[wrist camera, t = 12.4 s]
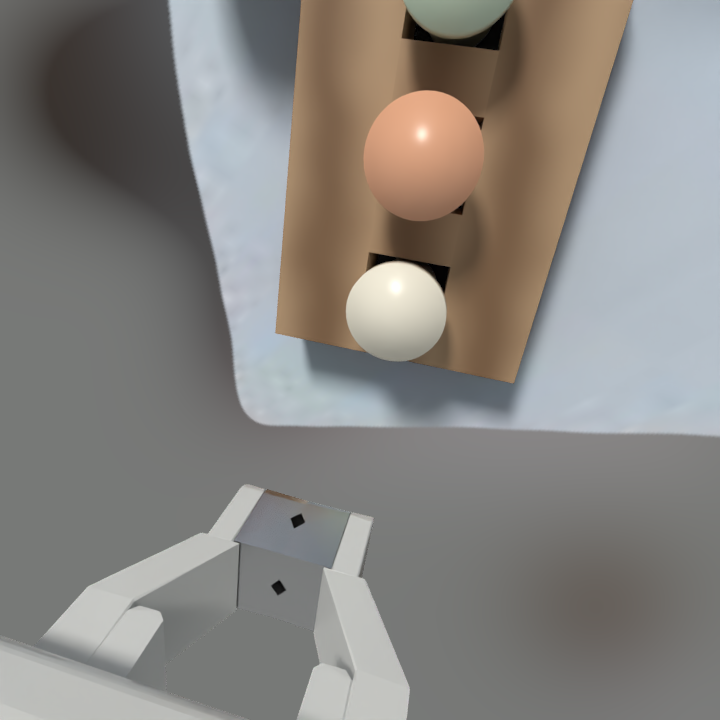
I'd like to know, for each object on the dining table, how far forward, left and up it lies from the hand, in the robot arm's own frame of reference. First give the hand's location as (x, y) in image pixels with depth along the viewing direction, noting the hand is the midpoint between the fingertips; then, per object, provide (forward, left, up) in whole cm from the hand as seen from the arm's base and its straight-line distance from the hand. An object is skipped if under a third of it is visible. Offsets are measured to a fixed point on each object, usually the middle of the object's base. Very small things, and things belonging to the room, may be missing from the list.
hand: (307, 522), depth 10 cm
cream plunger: (0, 0, -24) cm, 24 cm away
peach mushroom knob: (0, -8, -23) cm, 25 cm away
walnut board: (0, -8, -25) cm, 26 cm away
